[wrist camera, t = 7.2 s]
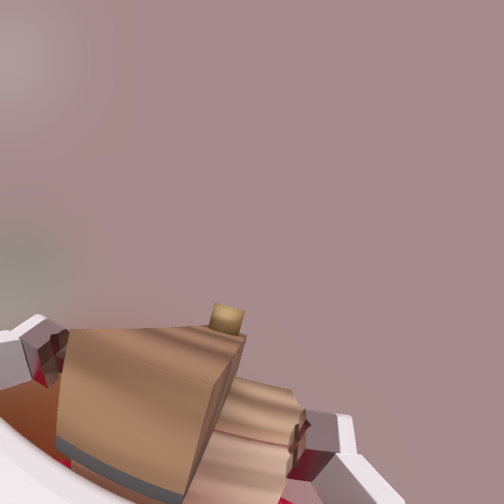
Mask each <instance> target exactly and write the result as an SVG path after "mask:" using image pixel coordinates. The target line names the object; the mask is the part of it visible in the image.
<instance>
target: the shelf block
mask: <svg viewBox="0 0 504 504" xmlns="http://www.w3.org/2000/svg"><path fill="white" fill-rule="evenodd" d="M301 413H302V411H301V409H300V407H299V405H298V403H297V401H296V399H295V398H294V395H293V393H292V391H291V390H289V389H285V388H280V387H275V386H271V385H267V384H262V383H258V382H254V381H250V380H246V379H242V378H239V377H235V378H234V380H233V383H232V385H231V388H230V390H229V393H228V395H227V398H226V400H225V403H224V405H223V408H222V410H221V413H220V415H219V418H218V420H217V423H216V425H215V428H214V430H213V433H212V435H211V437H210V440H209V442H208V445H207V447H206V450H205V452H204V454H203V457H202V459H201V461H200V464H199V466H198V469H197V471H196V473H195V476H194V478H193V480H192V483H191V485H190V487H189V489H188V492H187V494H186V496H185V499H184V501H183V503H182V504H277V503H278V501H279V499H280V497H281V494H282V492H283V490H284V487H285V485H286V482H287V480H288V478H285V477H286V465H287V461H288V459H289V457H290V456H291V455H290V453H289V452H288V444H289V439H290V436H291V433H292V430H293V428H294V426H295V425H296V424H298V423H299V416H300V415H301ZM71 470H72V471H74V472H75V473H77V474H79V475H80V476H82V477H84V478H86V479H87V480H89V481H91V482H93V483H95V484H97V485H98V486H100V487H102V488H104V489H106V490H108V491H110V492H112V493H114V494H116V495H118V496H121V497H123V498H125V499H127V500H129V501H132V502H134V503H136V504H165V503H163V502H160V501H157V500H154V499H152V498H149V497H147V496H144V495H142V494H139V493H137V492H135V491H132V490H130V489H128V488H125V487H123V486H121V485H119V484H117V483H115V482H113V481H111V480H109V479H107V478H105V477H103V476H101V475H99V474H97V473H95V472H93V471H91V470H90V469H88V468H86V467H84V466H82V465H81V464H79V463H77V462H76V461H74V460H72V459H71Z"/></svg>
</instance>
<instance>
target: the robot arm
mask: <svg viewBox="0 0 504 504" xmlns="http://www.w3.org/2000/svg"><path fill="white" fill-rule="evenodd" d="M69 333H70V332H69V331H68V330H67V329H65V328H63V327H62V326H60V325H58V324H56V323H55V322H53V321H51V320H50V319H47V318H46V317H44V316H42V315H41V314H36V315H34V316H33V317H31V318H30V319H28V320H27V321H25V322H24V323H22V324H21V325H19V326H18V327H16V328H15V329H13V330H12V331H8V330H6V331H0V390H2V389H6V388H8V387H11V386H15V385H17V384H21V383H24V382H27V381H30V380H32V379H34V380H35V381H37V382H38V383H40V384H42V385H43V386H45V387H46V388H49V387H50V386H51V385H52V384H54V383H55V381H57V379H59V373H62V372H63V366H64V360H65V354H66V348H67V343H68V338H69ZM288 452H289V453H290V455H291V456H290V457H289V459H288V461H287V465H286V477H285V478H288V479H295V480H302V481H310V482H311V483H312V485H313V487H314V489H315V490H316V492H317V494H318V496H319V497H320V499H321V501H322V502H323V504H405V501H404V500H403V499H402V498H401V497H400V496H399V494H397V492H396V491H395V490H394V489H393V488H392V487H391V486H390V485H389V484H388V483H387V482H386V481H385V480H384V479H383V478H382V477H381V476H380V474H379V473H378V472H377V471H376V470H375V469H374V468H373V467H372V466H371V465H370V464H369V462H368V461H367V460H366V459H365V458H364V457H363V456H362V455H358V454H357V449H356V442H355V435H354V428H353V422H352V417H351V416H350V415H343V414H334V413H327V412H320V411H314V410H307V409H304V410H303V411H302V413H301V415H300V416H299V423H298V424H296V425H295V426H294V428H293V430H292V433H291V436H290V439H289V444H288ZM0 504H136V503H134V502H132V501H129V500H127V499H125V498H123V497H121V496H118V495H116V494H114V493H112V492H110V491H108V490H106V489H104V488H102V487H100V486H98V485H97V484H95V483H93V482H91V481H89V480H87V479H86V478H84V477H82V476H80V475H79V474H77V473H75V472H74V471H72V470H70V469H69V468H67V467H66V466H64V465H62V464H61V463H59V462H58V461H56V460H55V459H53V458H52V457H50V456H49V455H48V454H46V453H45V452H43V451H42V450H40V449H39V448H38V447H36V446H35V445H34V444H32V443H31V442H30V441H28V440H27V439H26V438H25V437H23V436H22V435H21V434H20V433H18V432H17V431H16V430H15V429H14V428H12V427H11V426H10V425H9V424H8V423H6V422H5V421H4V420H3V419H2V418H1V417H0Z"/></svg>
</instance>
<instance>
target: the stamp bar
mask: <svg viewBox="0 0 504 504" xmlns="http://www.w3.org/2000/svg"><path fill="white" fill-rule="evenodd" d="M244 313H245V311H243V310H239V309H236V308H232V307H229V306H225V305H221V304H218V303H215V304H214V308H213V312H212V315H211V319H210V323H209V325H203V326H187V327H169V328H146V329H70V333H69V338H68V343H67V348H66V354H65V360H64V366H63V372H62V379H61V387H60V395H59V405H58V414H57V428H56V450H58V451H59V452H61V453H63V454H64V455H66V456H67V457H69V458H71V459H72V460H74V461H76V462H77V463H79V464H81V465H82V466H84V467H86V468H88V469H90V470H91V471H93V472H95V473H97V474H99V475H101V476H103V477H105V478H107V479H109V480H111V481H113V482H115V483H117V484H119V485H121V486H123V487H125V488H128V489H130V490H132V491H135V492H137V493H139V494H142V495H144V496H147V497H149V498H152V499H154V500H157V501H160V502H163V503H165V504H182V503H183V501H184V499H185V496H186V494H187V492H188V489H189V487H190V485H191V483H192V480H193V478H194V476H195V473H196V471H197V469H198V466H199V464H200V461H201V459H202V457H203V454H204V452H205V450H206V447H207V445H208V442H209V440H210V437H211V435H212V433H213V430H214V428H215V425H216V423H217V420H218V418H219V415H220V413H221V410H222V408H223V405H224V403H225V400H226V398H227V395H228V393H229V390H230V388H231V385H232V383H233V380H234V378H235V375H236V372H237V370H238V366H239V363H240V359H241V356H242V352H243V348H244V345H245V341H246V337H247V335H246V334H242V333H239V331H240V328H241V324H242V320H243V316H244Z"/></svg>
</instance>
